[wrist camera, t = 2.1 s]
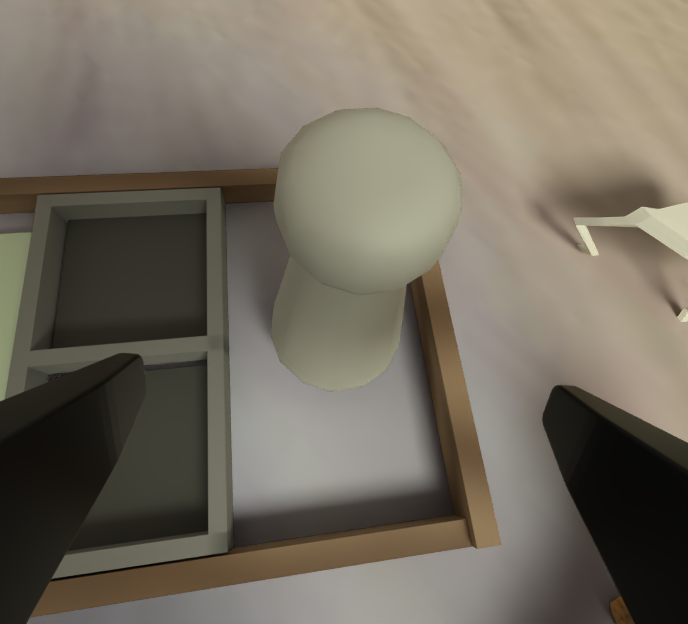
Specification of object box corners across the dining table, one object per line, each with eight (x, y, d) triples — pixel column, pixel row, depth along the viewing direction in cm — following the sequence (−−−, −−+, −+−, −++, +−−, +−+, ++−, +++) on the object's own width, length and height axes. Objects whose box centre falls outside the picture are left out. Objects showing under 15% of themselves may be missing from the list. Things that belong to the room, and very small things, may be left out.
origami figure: (721, 214, 26) (811, 159, 21) (769, 340, 23) (886, 309, 18) (540, 203, 25) (594, 144, 20) (567, 335, 22) (636, 300, 17)
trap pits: (233, 545, 17) (227, 552, 16) (2, 579, 16) (-27, 590, 14) (225, 204, 23) (220, 187, 21) (55, 212, 22) (37, 195, 20)
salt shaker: (249, 342, 20) (167, 154, 8) (329, 267, 22) (359, 23, 10) (337, 425, 19) (394, 355, 7) (412, 339, 21) (562, 166, 9)
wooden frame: (480, 536, 18) (501, 544, 16) (-336, 665, 14) (-434, 695, 12) (406, 180, 24) (415, 157, 23) (-169, 204, 21) (-216, 178, 19)
